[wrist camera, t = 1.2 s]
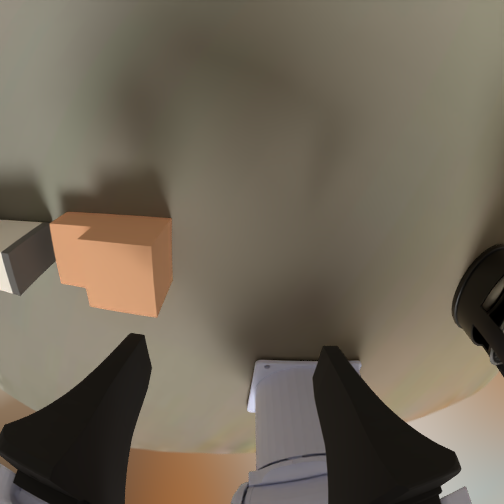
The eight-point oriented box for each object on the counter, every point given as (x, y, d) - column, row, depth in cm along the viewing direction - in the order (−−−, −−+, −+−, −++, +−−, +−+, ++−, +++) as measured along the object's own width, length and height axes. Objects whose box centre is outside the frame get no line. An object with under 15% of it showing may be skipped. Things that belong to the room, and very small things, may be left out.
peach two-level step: (172, 217, 17) (151, 246, 13) (173, 278, 19) (157, 317, 15) (68, 210, 17) (33, 234, 13) (77, 266, 19) (48, 297, 15)
